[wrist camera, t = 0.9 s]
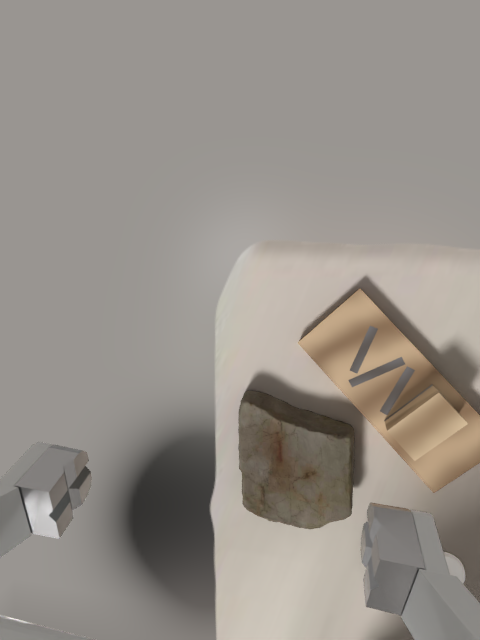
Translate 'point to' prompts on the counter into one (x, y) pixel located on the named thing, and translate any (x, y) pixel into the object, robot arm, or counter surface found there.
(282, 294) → the counter surface
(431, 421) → the block
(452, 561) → the chess piece
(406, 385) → the board
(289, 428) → the marble piece
